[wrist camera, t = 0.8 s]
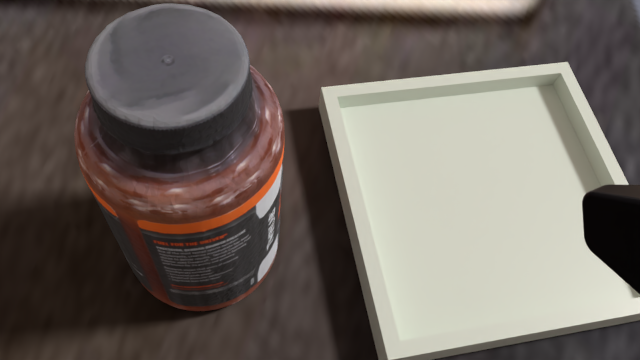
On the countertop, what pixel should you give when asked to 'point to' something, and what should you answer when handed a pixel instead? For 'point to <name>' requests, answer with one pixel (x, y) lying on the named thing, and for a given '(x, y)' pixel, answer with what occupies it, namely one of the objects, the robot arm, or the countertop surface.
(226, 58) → the supplement bottle
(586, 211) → the robot arm
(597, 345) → the countertop surface
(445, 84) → the tray
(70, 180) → the countertop surface
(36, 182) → the countertop surface
